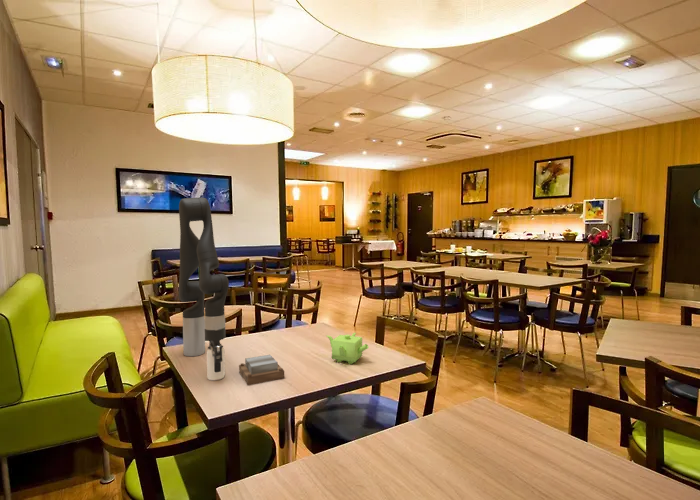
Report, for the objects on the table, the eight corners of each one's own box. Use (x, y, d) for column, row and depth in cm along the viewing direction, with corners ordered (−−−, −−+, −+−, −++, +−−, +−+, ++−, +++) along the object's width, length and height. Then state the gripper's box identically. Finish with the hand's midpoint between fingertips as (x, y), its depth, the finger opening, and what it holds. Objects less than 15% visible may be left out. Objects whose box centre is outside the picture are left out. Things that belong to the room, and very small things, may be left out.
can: (219, 381, 144) (218, 350, 143) (203, 380, 145) (203, 349, 144) (228, 375, 150) (227, 345, 149) (213, 373, 151) (212, 343, 151)
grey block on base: (239, 372, 153) (239, 357, 152) (273, 366, 159) (273, 352, 159) (247, 385, 140) (247, 369, 140) (284, 378, 147) (284, 363, 147)
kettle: (325, 357, 171) (325, 332, 170) (354, 353, 177) (354, 329, 176) (338, 368, 157) (338, 341, 157) (369, 363, 163) (369, 337, 163)
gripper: (202, 323, 151) (202, 363, 152) (207, 332, 138) (208, 376, 139) (221, 321, 154) (222, 360, 155) (228, 329, 142) (229, 372, 143)
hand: (215, 368), depth 147 cm, fingers open, 8 cm apart
